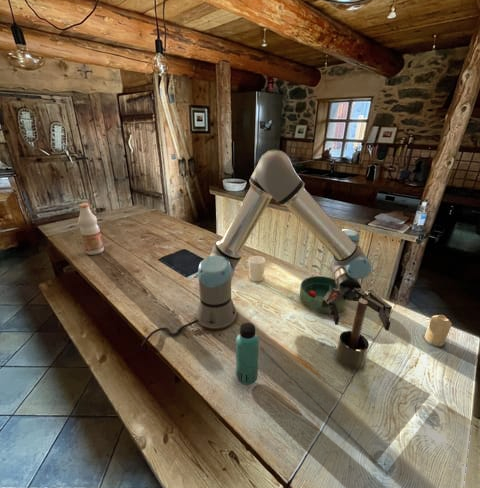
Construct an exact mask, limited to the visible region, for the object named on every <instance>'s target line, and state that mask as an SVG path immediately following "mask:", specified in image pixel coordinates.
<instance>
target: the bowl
mask: <svg viewBox="0 0 480 488" xmlns="http://www.w3.org/2000/svg"><path fill="white" fill-rule="evenodd" d="M330 286H333V287H334V288H335V289H337V286H336V282H335V279H334V277H329V276H324V275H314V276H309V277H305V279H303V280H302V281H301V282H300V288H299V299H300V302H301V303H302V304H303V305H304V306H305V307H307V308H308V309H309V310H312V311H314V312H317V313H320V314H327V315H328V314H329V311H328V310H327V309H328V308H327V307H325V308H323V307H322V300H323V298H324V297H325V295H326V294H327V293H328V291H329V288H330ZM310 291H314V292H315V293H316V296H315V298H312V297H311V296H309V292H310ZM336 294H337V295H338V293H336ZM348 302H349V301H347V300H345V301H343V302H341V303H339V304H338V305H337V306H336V307H337V311H338V313H341V312H343V311H345V310H346V308H347V306H348ZM329 315H330V314H329Z"/></svg>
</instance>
